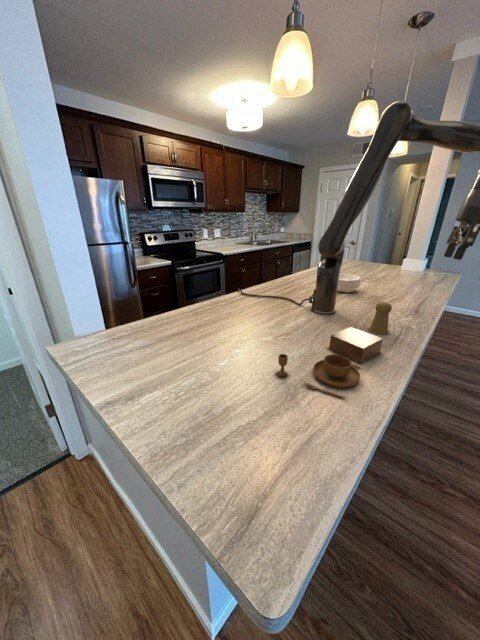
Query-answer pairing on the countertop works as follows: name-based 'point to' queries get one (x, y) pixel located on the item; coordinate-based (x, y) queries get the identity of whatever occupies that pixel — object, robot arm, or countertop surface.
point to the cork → (381, 318)
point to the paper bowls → (348, 283)
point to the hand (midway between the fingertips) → (451, 258)
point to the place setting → (329, 371)
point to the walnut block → (355, 344)
